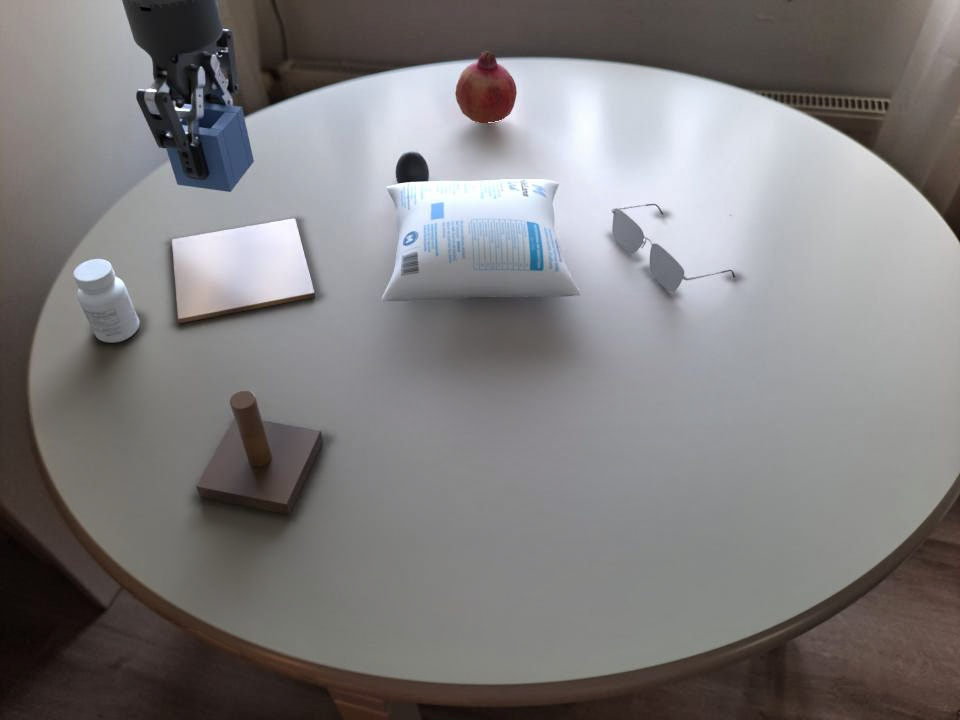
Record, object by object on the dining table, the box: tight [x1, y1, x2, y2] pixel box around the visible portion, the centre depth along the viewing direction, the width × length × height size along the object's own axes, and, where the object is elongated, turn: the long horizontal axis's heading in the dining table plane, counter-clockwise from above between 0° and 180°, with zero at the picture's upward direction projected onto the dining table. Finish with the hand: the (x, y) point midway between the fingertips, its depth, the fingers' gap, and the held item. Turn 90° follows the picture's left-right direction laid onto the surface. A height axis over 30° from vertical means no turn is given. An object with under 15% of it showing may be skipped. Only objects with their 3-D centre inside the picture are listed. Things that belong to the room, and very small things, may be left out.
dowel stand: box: [195, 389, 324, 515], centre depth 67 cm, size 8×8×9 cm
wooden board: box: [171, 217, 316, 324], centre depth 88 cm, size 14×14×1 cm
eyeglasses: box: [610, 203, 737, 292], centre depth 90 cm, size 14×8×4 cm, turn 27°
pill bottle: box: [73, 258, 140, 344], centre depth 79 cm, size 4×4×8 cm
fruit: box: [455, 50, 518, 125], centre depth 108 cm, size 8×8×10 cm
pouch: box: [381, 178, 582, 303], centre depth 87 cm, size 8×19×20 cm
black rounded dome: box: [395, 149, 430, 184], centre depth 98 cm, size 4×4×5 cm
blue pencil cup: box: [165, 102, 255, 193], centre depth 78 cm, size 6×6×6 cm
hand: (212, 159), depth 79 cm, fingers closed on blue pencil cup, 5 cm apart
